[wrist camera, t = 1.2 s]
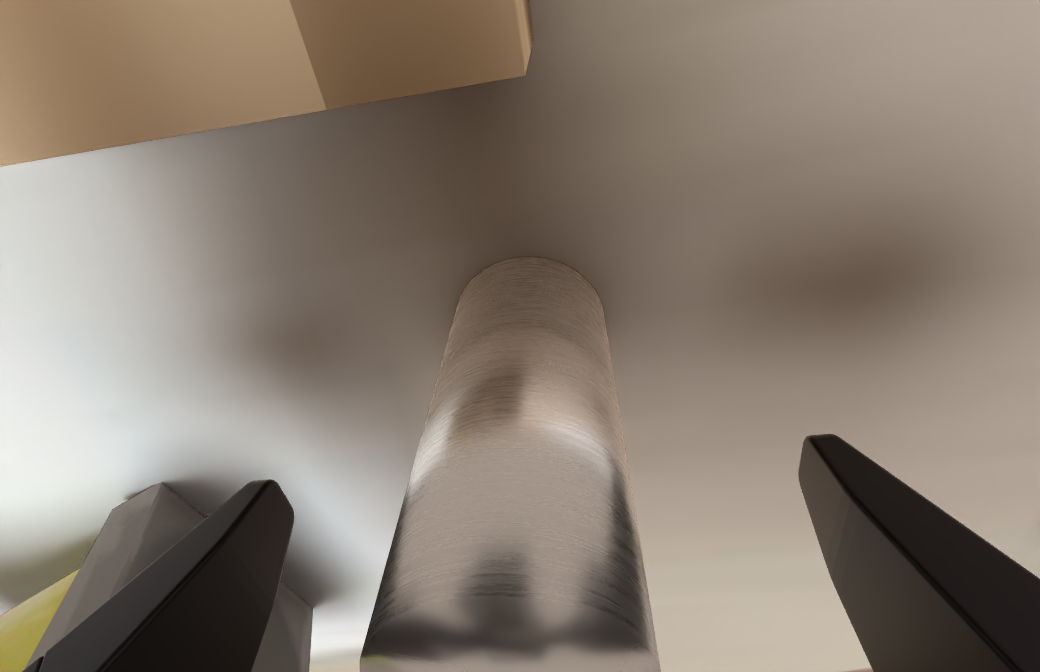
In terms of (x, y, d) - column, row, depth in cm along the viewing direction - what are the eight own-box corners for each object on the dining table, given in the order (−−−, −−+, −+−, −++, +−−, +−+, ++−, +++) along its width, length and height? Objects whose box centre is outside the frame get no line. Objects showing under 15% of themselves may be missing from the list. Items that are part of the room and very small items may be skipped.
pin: (597, 246, 12) (658, 590, 5) (609, 375, 14) (664, 743, 7) (439, 267, 12) (313, 607, 6) (472, 388, 14) (406, 747, 8)
